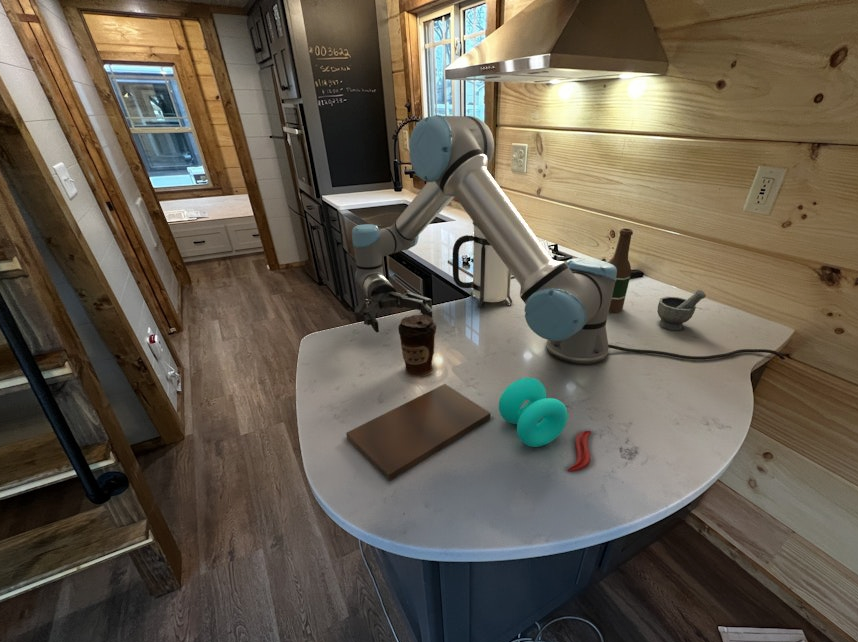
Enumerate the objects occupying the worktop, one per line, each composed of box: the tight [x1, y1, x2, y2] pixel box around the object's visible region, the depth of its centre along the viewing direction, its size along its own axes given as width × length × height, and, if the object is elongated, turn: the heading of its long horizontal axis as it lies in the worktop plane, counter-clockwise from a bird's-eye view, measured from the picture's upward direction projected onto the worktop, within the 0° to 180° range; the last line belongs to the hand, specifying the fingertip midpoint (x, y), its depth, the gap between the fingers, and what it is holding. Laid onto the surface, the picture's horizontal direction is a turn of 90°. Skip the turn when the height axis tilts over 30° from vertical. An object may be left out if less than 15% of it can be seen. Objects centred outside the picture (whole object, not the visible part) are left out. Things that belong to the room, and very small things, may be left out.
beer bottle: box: [607, 228, 634, 314], centre depth 121 cm, size 8×8×24 cm
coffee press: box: [452, 221, 513, 309], centre depth 123 cm, size 17×16×30 cm
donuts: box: [498, 377, 569, 448], centre depth 75 cm, size 10×10×10 cm
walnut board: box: [345, 383, 491, 481], centre depth 77 cm, size 24×14×2 cm, turn 133°
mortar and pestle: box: [657, 289, 707, 331], centre depth 114 cm, size 11×9×12 cm
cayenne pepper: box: [566, 430, 592, 472], centre depth 73 cm, size 12×5×2 cm, turn 142°
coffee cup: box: [398, 314, 437, 377], centre depth 92 cm, size 9×8×13 cm
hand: (404, 322), depth 97 cm, fingers open, 13 cm apart
